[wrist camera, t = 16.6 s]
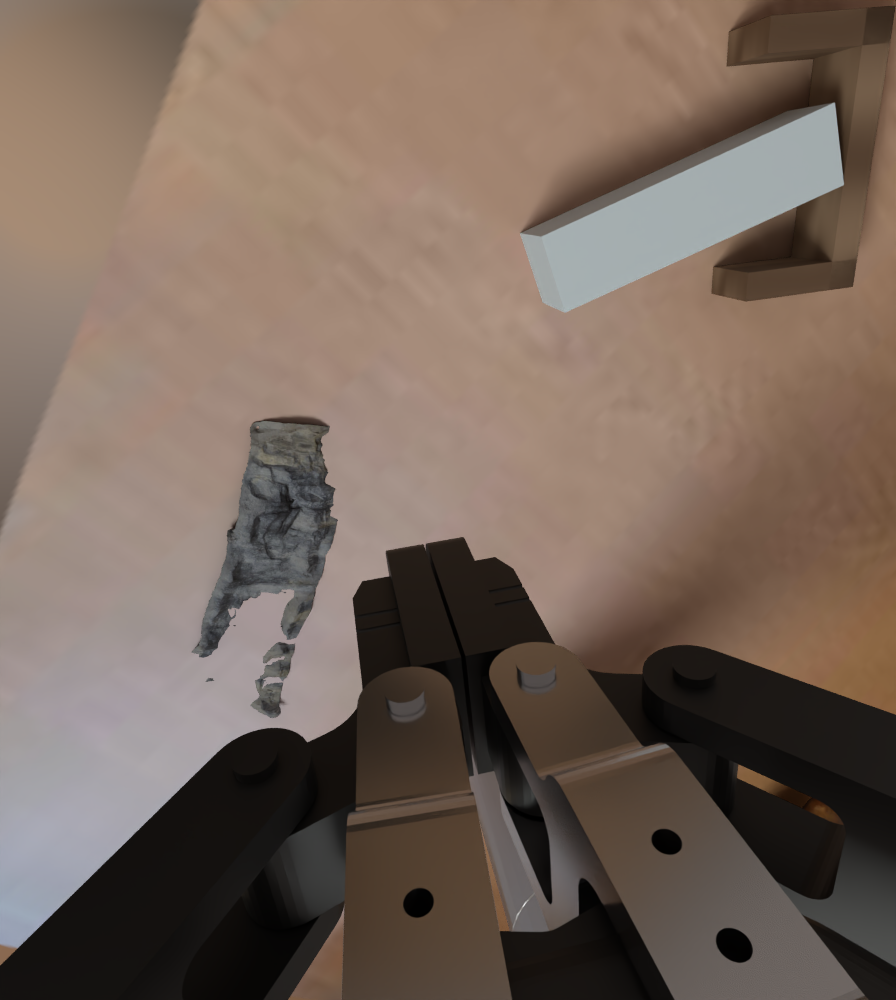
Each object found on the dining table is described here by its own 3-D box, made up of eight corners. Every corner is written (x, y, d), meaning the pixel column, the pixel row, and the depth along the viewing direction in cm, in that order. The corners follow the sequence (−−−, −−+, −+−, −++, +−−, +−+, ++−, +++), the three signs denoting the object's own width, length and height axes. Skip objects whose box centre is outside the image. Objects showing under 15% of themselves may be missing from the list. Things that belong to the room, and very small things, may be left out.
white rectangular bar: (794, 186, 39) (843, 185, 35) (541, 301, 39) (565, 312, 35) (783, 111, 37) (835, 102, 33) (518, 232, 37) (540, 236, 33)
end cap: (811, 280, 41) (852, 286, 38) (711, 293, 40) (745, 301, 37) (843, 22, 35) (895, 5, 32) (728, 32, 35) (770, 15, 31)
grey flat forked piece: (258, 399, 38) (255, 410, 36) (371, 433, 40) (374, 445, 38) (178, 685, 45) (172, 706, 43) (278, 702, 47) (277, 723, 45)
